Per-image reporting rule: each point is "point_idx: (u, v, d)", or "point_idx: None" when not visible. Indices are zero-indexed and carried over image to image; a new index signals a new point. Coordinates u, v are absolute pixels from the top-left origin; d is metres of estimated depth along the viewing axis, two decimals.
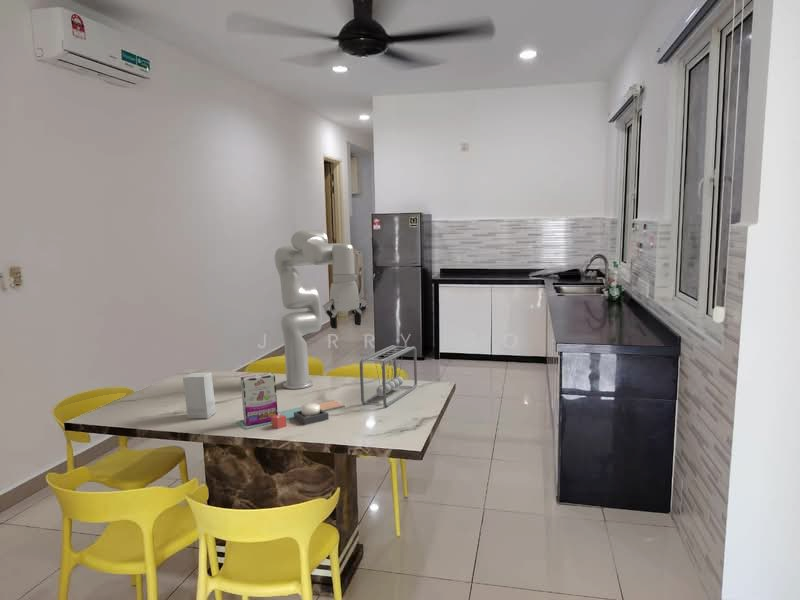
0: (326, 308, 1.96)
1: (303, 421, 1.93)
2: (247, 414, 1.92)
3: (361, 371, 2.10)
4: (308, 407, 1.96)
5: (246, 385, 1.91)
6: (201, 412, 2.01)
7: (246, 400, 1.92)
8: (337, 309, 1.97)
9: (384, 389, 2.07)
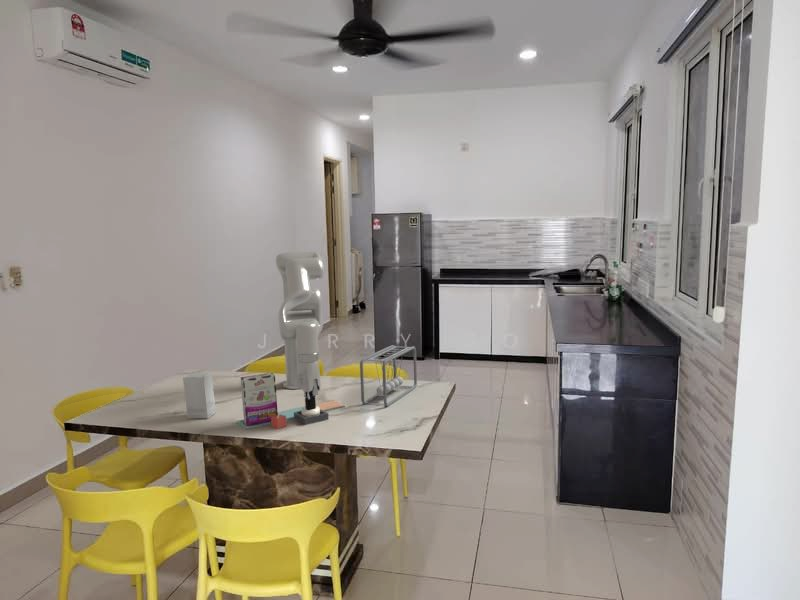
0: None
1: (303, 421, 1.93)
2: (247, 414, 1.92)
3: (361, 371, 2.10)
4: None
5: (246, 385, 1.91)
6: (201, 412, 2.01)
7: (246, 400, 1.92)
8: None
9: (384, 389, 2.07)
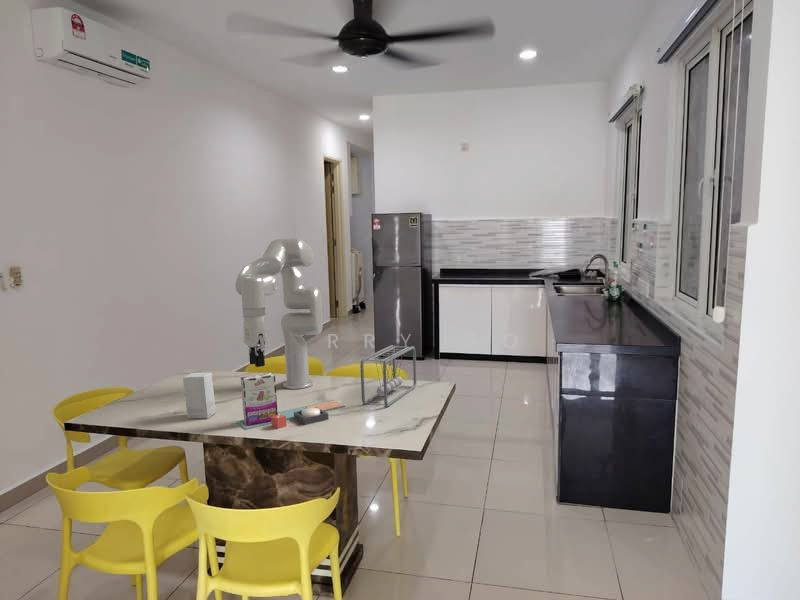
0: None
1: (303, 421, 1.93)
2: (247, 414, 1.92)
3: (362, 371, 2.10)
4: (308, 411, 1.97)
5: (246, 385, 1.91)
6: (201, 412, 2.01)
7: (246, 400, 1.92)
8: (265, 343, 1.91)
9: (385, 389, 2.07)
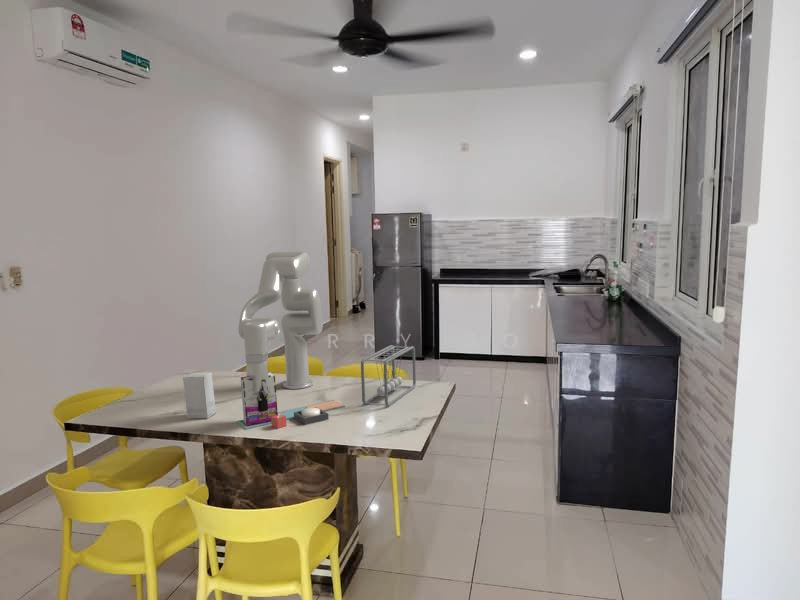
0: None
1: (303, 421, 1.93)
2: (247, 414, 1.92)
3: (362, 371, 2.09)
4: (308, 411, 1.97)
5: (246, 385, 1.91)
6: (201, 412, 2.01)
7: (246, 400, 1.92)
8: (268, 388, 1.93)
9: (386, 389, 2.07)
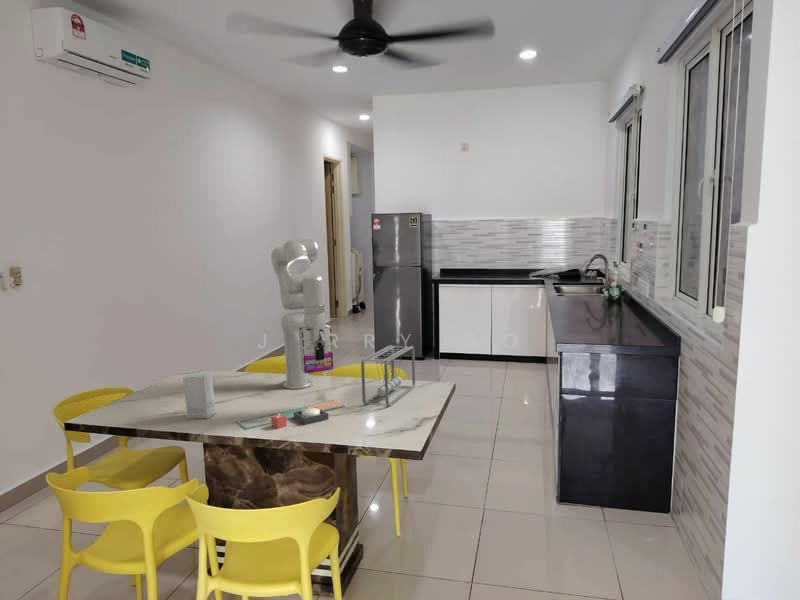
0: None
1: (303, 421, 1.93)
2: (305, 362, 2.03)
3: (363, 371, 2.09)
4: (308, 411, 1.97)
5: (304, 335, 2.02)
6: (201, 412, 2.01)
7: (304, 349, 2.03)
8: None
9: (386, 389, 2.07)
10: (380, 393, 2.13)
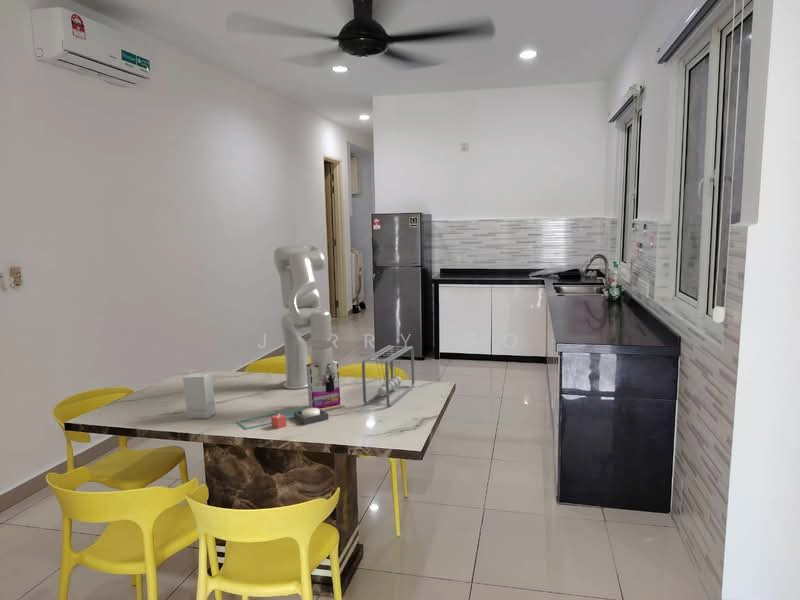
0: None
1: (303, 421, 1.93)
2: (313, 398, 2.06)
3: (363, 371, 2.09)
4: (308, 411, 1.97)
5: (312, 371, 2.05)
6: (201, 412, 2.01)
7: (312, 386, 2.06)
8: None
9: (387, 389, 2.07)
10: (380, 393, 2.13)
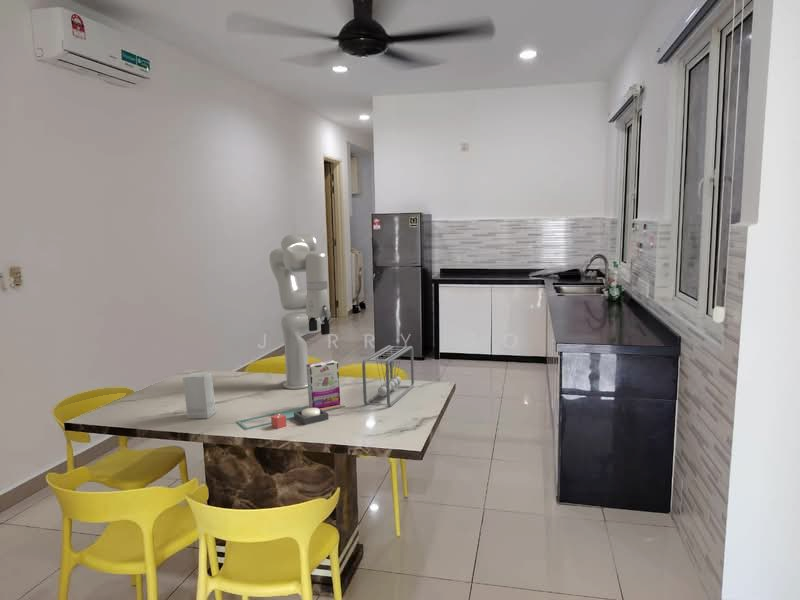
0: None
1: (303, 421, 1.93)
2: (313, 398, 2.06)
3: (364, 371, 2.09)
4: (308, 411, 1.97)
5: (313, 371, 2.05)
6: (201, 412, 2.01)
7: (312, 386, 2.06)
8: None
9: (388, 389, 2.07)
10: (381, 393, 2.13)
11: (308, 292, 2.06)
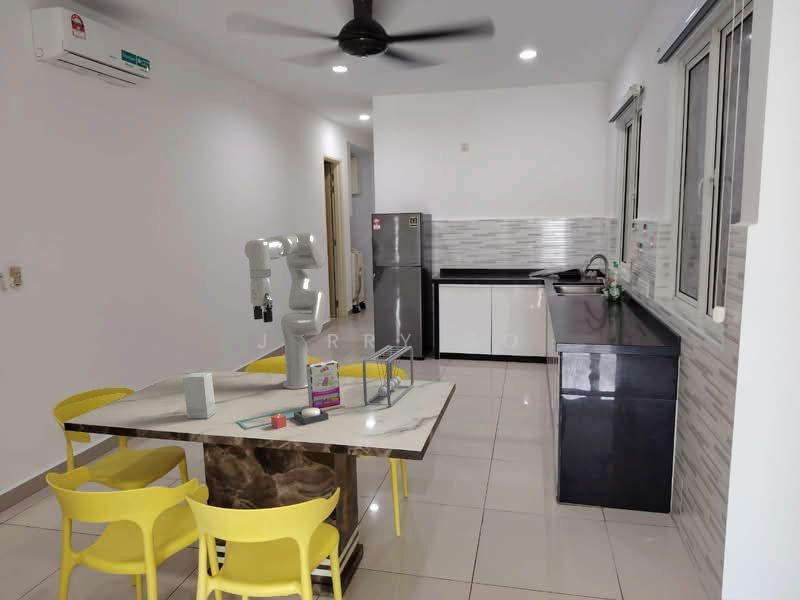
0: None
1: (303, 421, 1.93)
2: (313, 398, 2.06)
3: (364, 372, 2.09)
4: (308, 411, 1.97)
5: (312, 371, 2.05)
6: (201, 412, 2.01)
7: (312, 386, 2.06)
8: None
9: (388, 389, 2.07)
10: (381, 393, 2.13)
11: (252, 280, 2.06)
